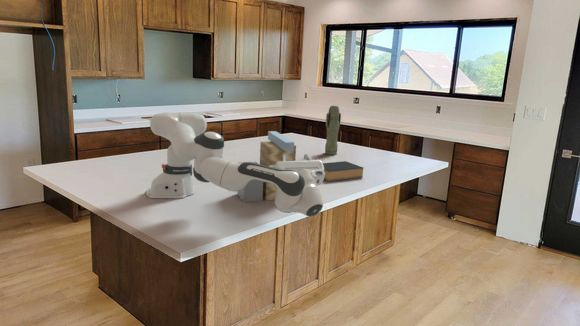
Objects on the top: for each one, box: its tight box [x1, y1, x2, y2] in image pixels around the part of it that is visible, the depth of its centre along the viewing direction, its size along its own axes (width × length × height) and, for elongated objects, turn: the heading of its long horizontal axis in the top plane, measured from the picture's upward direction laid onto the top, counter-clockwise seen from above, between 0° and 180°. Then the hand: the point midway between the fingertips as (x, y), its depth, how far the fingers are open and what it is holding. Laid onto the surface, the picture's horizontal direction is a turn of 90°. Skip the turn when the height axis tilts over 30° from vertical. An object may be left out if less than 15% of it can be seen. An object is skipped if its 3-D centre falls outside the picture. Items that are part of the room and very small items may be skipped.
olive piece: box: [324, 105, 342, 156], centre depth 316 cm, size 9×12×35 cm
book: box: [322, 160, 365, 182], centre depth 257 cm, size 17×25×7 cm
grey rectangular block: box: [236, 161, 263, 203], centre depth 208 cm, size 9×13×16 cm
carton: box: [259, 140, 297, 201], centre depth 212 cm, size 14×12×26 cm
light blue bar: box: [267, 130, 295, 151], centre depth 206 cm, size 4×26×4 cm, turn 20°
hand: (295, 155), depth 184 cm, fingers open, 8 cm apart
